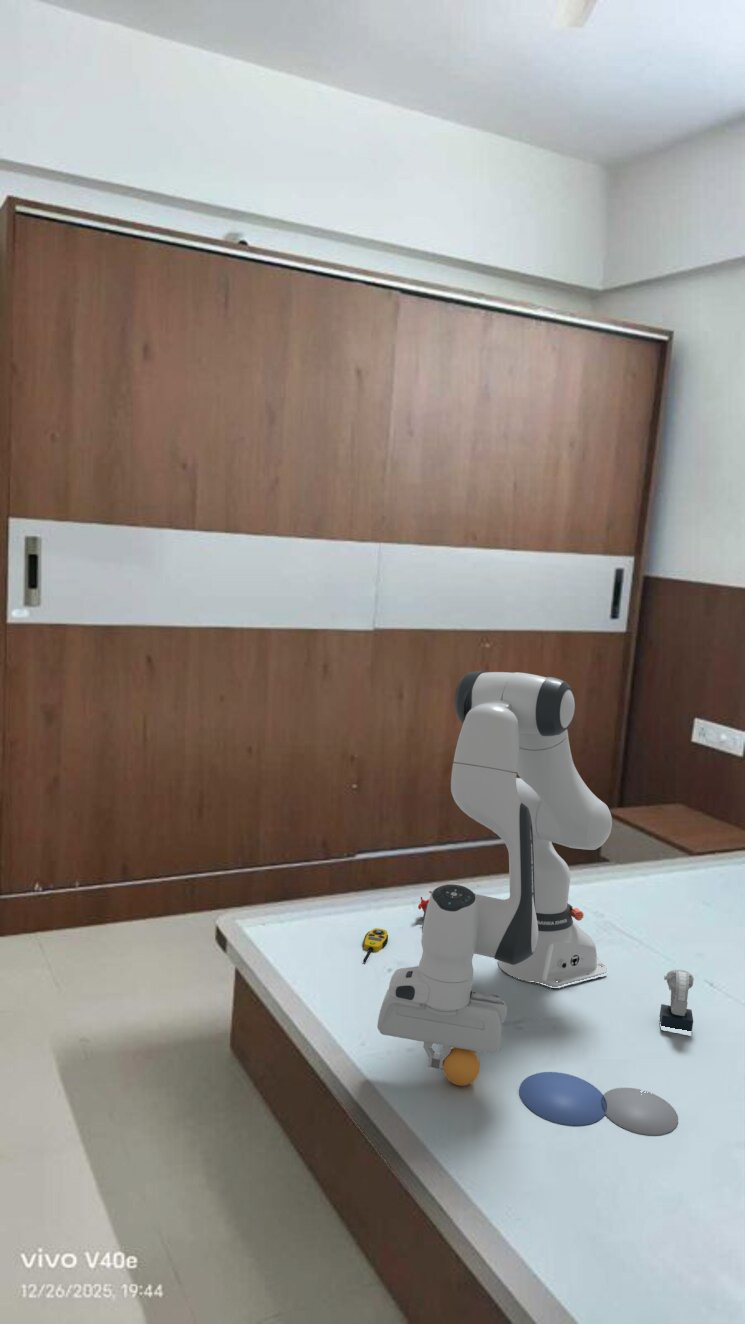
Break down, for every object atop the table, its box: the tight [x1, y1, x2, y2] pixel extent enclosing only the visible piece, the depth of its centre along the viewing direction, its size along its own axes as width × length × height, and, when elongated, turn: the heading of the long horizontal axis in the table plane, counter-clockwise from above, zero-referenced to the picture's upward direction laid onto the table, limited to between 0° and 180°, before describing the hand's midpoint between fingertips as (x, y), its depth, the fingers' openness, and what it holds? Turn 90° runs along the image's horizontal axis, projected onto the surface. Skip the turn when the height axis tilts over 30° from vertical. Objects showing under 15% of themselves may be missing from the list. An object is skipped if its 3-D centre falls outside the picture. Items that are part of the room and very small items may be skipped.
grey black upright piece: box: [659, 969, 695, 1031], centre depth 181 cm, size 6×8×11 cm
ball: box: [442, 1047, 481, 1087], centre depth 158 cm, size 6×6×6 cm
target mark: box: [518, 1071, 607, 1127], centre depth 156 cm, size 14×14×1 cm
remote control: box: [362, 927, 389, 963], centre depth 204 cm, size 5×2×15 cm
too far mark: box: [601, 1087, 679, 1136], centre depth 155 cm, size 12×12×1 cm
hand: (435, 1066), depth 159 cm, fingers closed
